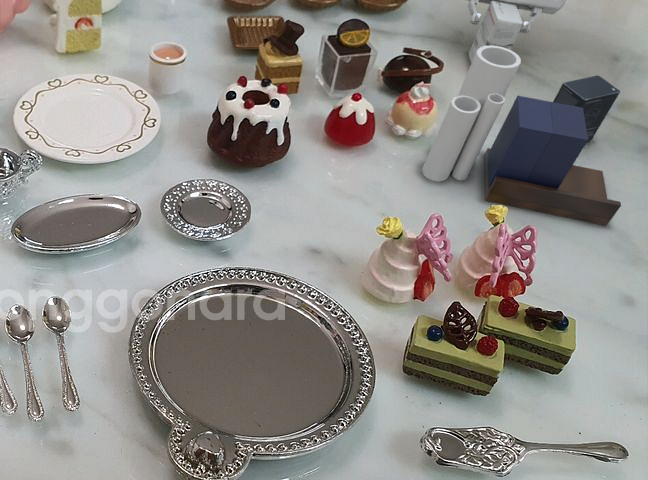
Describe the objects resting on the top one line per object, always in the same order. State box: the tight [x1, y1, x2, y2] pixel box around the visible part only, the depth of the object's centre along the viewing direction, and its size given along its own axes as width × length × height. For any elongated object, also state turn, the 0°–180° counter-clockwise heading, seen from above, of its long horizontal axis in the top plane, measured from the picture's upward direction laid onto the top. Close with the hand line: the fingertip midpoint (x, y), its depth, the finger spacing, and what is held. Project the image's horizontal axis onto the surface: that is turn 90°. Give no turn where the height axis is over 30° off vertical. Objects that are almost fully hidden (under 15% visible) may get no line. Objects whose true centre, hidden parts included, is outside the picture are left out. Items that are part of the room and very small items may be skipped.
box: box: [552, 74, 621, 143], centre depth 134 cm, size 8×6×11 cm
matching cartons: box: [488, 95, 589, 189], centre depth 123 cm, size 10×9×12 cm
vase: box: [421, 45, 522, 183], centre depth 124 cm, size 11×7×20 cm, turn 146°
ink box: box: [468, 1, 523, 65], centre depth 149 cm, size 9×5×12 cm, turn 170°
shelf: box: [483, 147, 622, 227], centre depth 127 cm, size 19×13×4 cm
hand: (498, 27), depth 148 cm, fingers open, 8 cm apart
